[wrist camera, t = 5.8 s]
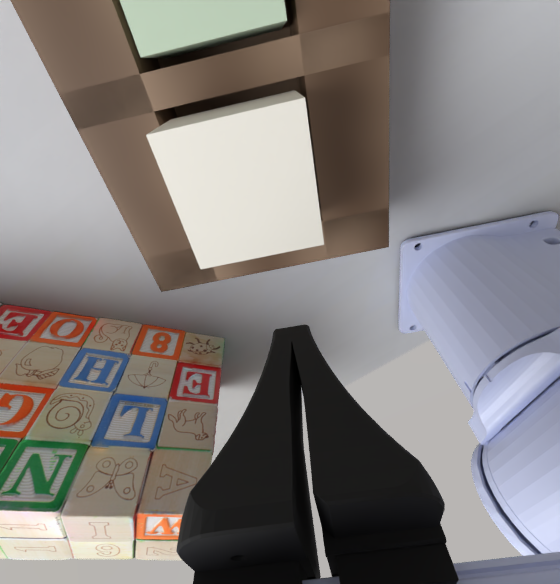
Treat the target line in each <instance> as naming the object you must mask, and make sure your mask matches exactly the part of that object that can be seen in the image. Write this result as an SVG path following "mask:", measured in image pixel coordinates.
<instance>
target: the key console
mask: <svg viewBox="0 0 560 584" xmlns="http://www.w3.org/2000/svg"><path fill="white" fill-rule="evenodd" d="M11 2H12V4H13V6H14V8H15V10H16V12H17V14H18V16H19V18H20V20H21V21H22V23H23V25H24V27H25V29H26V31H27V33H28V35H29V37H30V39H31V41H32V43H33V45H34V47H35V49H36V50H37V52H38V54H39V56H40V58H41V60H42V62H43V64H44V66H45V68H46V70H47V72H48V74H49V76H50V78H51V79H52V81H53V83H54V85H55V87H56V89H57V91H58V93H59V95H60V97H61V99H62V101H63V103H64V105H65V107H66V108H67V110H68V112H69V114H70V116H71V118H72V120H73V122H74V124H75V126H76V128H77V130H78V132H79V134H80V136H81V137H82V139H83V141H84V143H85V145H86V147H87V149H88V151H89V153H90V155H91V157H92V159H93V161H94V163H95V165H96V166H97V168H98V170H99V172H100V174H101V176H102V178H103V180H104V182H105V184H106V186H107V188H108V190H109V192H110V194H111V195H112V197H113V199H114V201H115V203H116V205H117V207H118V209H119V211H120V213H121V215H122V217H123V219H124V221H125V223H126V224H127V226H128V228H129V230H130V232H131V234H132V236H133V238H134V240H135V242H136V244H137V246H138V248H139V250H140V252H141V253H142V255H143V257H144V259H145V261H146V263H147V265H148V267H149V269H150V271H151V273H152V275H153V277H154V279H155V281H156V282H157V284H158V286H159V288H160V290H161V292H163V291H168V290H173V289H179V288H184V287H189V286H194V285H199V284H204V283H209V282H214V281H219V280H224V279H229V278H234V277H239V276H244V275H249V274H254V273H259V272H264V271H270V270H275V269H280V268H285V267H290V266H295V265H300V264H305V263H310V262H315V261H320V260H325V259H330V258H335V257H340V256H345V255H350V254H355V253H361V252H366V251H371V250H376V249H381V248H386V247H389V48H390V0H284V2H285V9H286V16H287V21H286V23H285V24H284V26H283V27H282V29H281V30H277V31H273V32H269V33H265V34H261V35H257V36H253V37H249V38H246V39H242V40H238V41H234V42H230V43H226V44H222V45H218V46H214V47H210V48H206V49H202V50H198V51H194V52H190V53H186V54H182V55H178V56H174V57H170V58H166V59H160V58H141V57H140V54H139V52H138V49H137V46H136V44H135V41H134V38H133V35H132V33H131V30H130V27H129V24H128V22H127V19H126V16H125V14H124V11H123V8H122V5H121V3H120V0H11ZM292 90H295V91H297V92H298V93H300V94H301V95H302V96H304V97H305V101H306V108H307V116H308V124H309V132H310V139H311V147H312V155H313V163H314V170H315V178H316V186H317V193H318V201H319V209H320V217H321V224H322V232H323V240H324V245H320V246H315V247H310V248H305V249H300V250H295V251H290V252H285V253H280V254H275V255H270V256H265V257H260V258H255V259H250V260H245V261H240V262H235V263H230V264H225V265H220V266H215V267H210V268H206V269H200V267H199V264H198V262H197V260H196V257H195V255H194V252H193V250H192V247H191V245H190V242H189V240H188V237H187V235H186V232H185V230H184V228H183V225H182V223H181V220H180V218H179V215H178V213H177V210H176V208H175V205H174V203H173V200H172V198H171V196H170V193H169V191H168V188H167V186H166V183H165V181H164V178H163V176H162V173H161V171H160V168H159V166H158V164H157V161H156V159H155V156H154V154H153V151H152V149H151V146H150V144H149V141H148V139H147V136H146V135H147V134H148V133H150V132H151V131H153V130H155V129H156V128H158V127H159V126H161V125H162V124H164V123H166V122H167V121H169V120H170V119H174V118H179V117H183V116H187V115H191V114H195V113H200V112H204V111H208V110H212V109H216V108H221V107H225V106H229V105H233V104H238V103H242V102H246V101H250V100H254V99H259V98H263V97H267V96H271V95H276V94H280V93H284V92H288V91H292Z"/></svg>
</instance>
